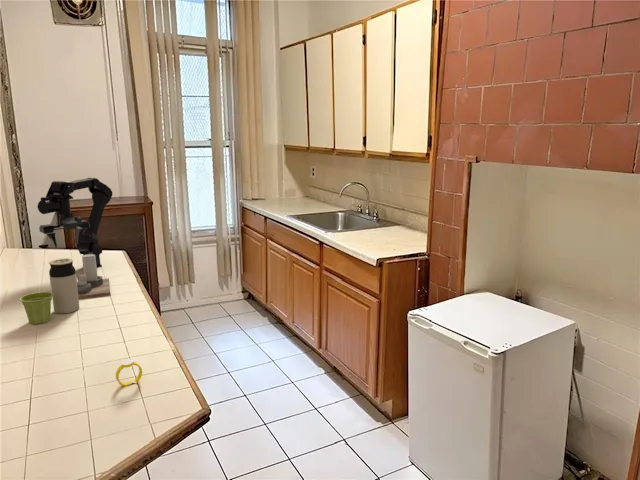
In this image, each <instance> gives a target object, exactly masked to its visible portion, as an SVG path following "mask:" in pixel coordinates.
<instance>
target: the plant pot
mask: <svg viewBox="0 0 640 480" xmlns="http://www.w3.org/2000/svg"><path fill="white" fill-rule="evenodd" d="M52 296H53V294H52V292H49V291H40V292H32V293H29V294H25V295H22V296H21V297H19V301H20V302H21V304H22V305H23V308H24V310H25V313H26V317H27V319H28V320H27V321H28V324H31V325H37V324H45V323H47V322H49V321H50V320H51V308H52V307H51V304H52V301H53V299H52Z"/></svg>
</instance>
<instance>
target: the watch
mask: <svg viewBox="0 0 640 480" xmlns="http://www.w3.org/2000/svg"><path fill="white" fill-rule="evenodd" d="M132 366H137V367H138V375H137V376H136V378H134V380H135V381H134V382H137V383H138V382H139V381H140V380H141V378H142V377H143V376H142V375H143V370H142V367H141V366H140V364H139V363H138V362H135V361H134V360H133V359H126V360H124V361H122V362H121V365H119V366H118V368H117V370H116V372H115V379H116V381H117V383H119V385H120V386H122V387H127V385H128V386H131V385H133V384H132V383H134V382H132V381H133V380H130V381H126V382H122V381H120V379H119V377H120V374H121V372H122V370H123V369H125V368H131V367H132ZM130 384H131V385H130Z"/></svg>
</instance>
